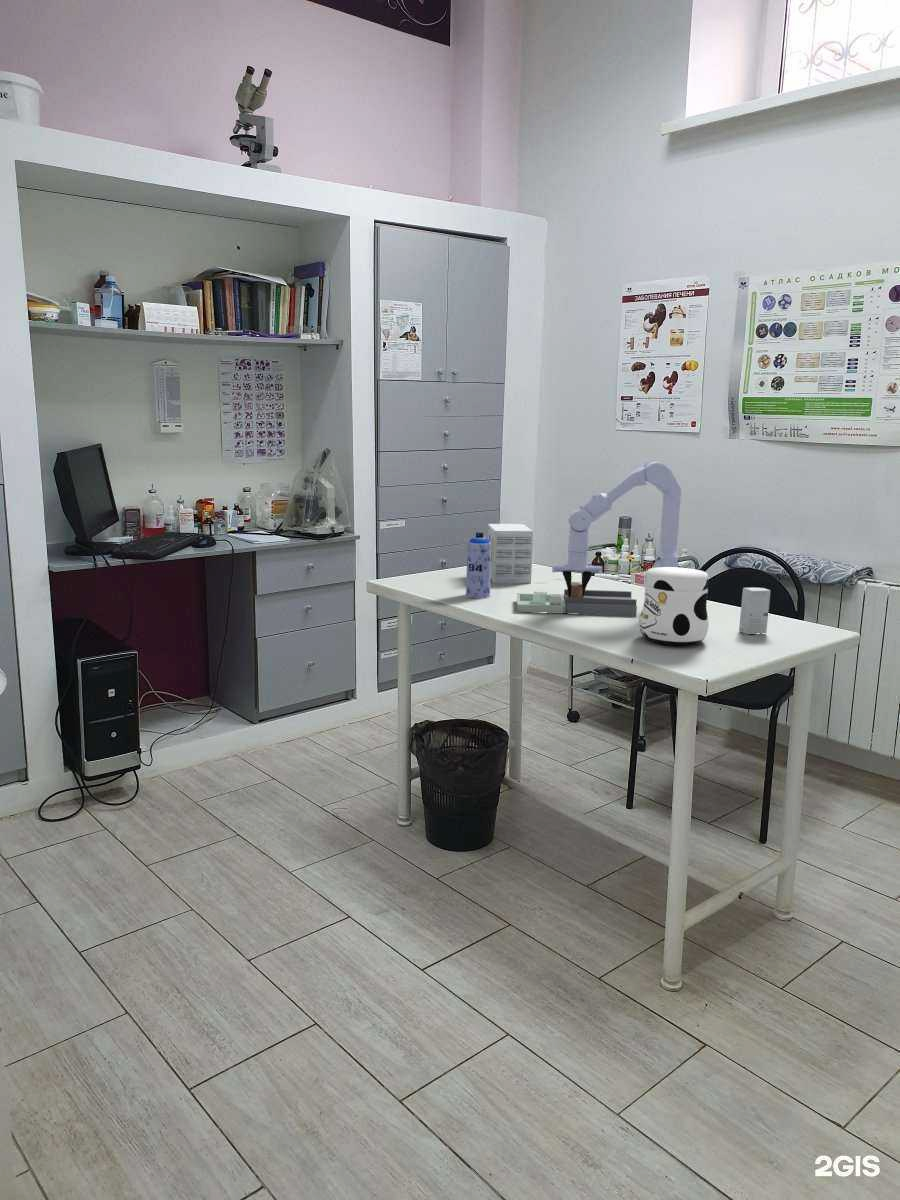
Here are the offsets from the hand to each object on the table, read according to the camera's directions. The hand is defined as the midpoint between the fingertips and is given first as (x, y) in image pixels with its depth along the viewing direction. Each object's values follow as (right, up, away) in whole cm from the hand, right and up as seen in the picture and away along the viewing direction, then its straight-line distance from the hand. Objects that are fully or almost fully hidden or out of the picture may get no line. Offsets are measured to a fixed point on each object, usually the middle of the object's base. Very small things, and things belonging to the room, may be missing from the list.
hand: (575, 596), depth 269 cm
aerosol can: (-28, 0, +16) cm, 33 cm away
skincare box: (+44, -10, -24) cm, 51 cm away
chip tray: (-10, -3, +1) cm, 11 cm away
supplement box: (-17, +6, +45) cm, 49 cm away
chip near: (-7, -2, -3) cm, 7 cm away
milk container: (+20, -12, -34) cm, 41 cm away
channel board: (+7, -4, 0) cm, 8 cm away
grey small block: (-10, 0, +5) cm, 11 cm away
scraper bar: (0, -1, 0) cm, 0 cm away
